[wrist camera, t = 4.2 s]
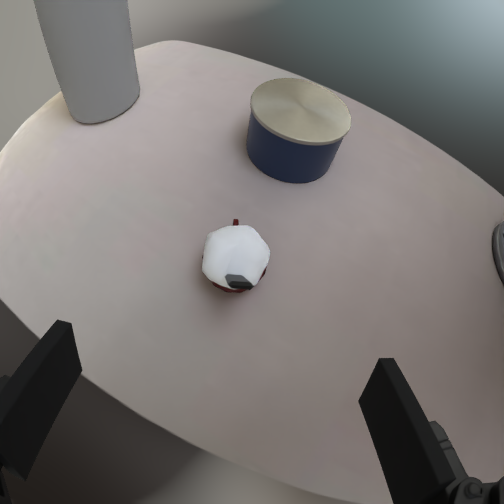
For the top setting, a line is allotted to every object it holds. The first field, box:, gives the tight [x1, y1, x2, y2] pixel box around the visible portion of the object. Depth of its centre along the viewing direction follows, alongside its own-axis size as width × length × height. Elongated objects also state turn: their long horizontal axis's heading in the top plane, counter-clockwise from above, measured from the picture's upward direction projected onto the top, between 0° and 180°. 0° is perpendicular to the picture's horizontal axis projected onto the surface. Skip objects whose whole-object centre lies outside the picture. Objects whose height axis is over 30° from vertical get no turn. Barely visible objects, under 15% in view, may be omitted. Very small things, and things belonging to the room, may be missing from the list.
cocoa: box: [202, 219, 271, 293], centre depth 27 cm, size 10×6×12 cm, turn 157°
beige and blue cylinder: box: [246, 78, 351, 183], centre depth 37 cm, size 12×12×8 cm
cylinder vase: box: [34, 0, 140, 123], centre depth 31 cm, size 12×12×25 cm
